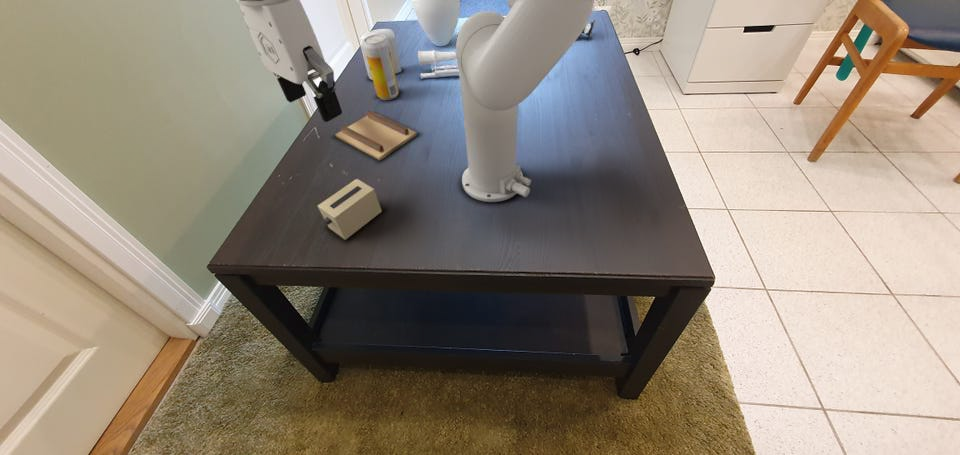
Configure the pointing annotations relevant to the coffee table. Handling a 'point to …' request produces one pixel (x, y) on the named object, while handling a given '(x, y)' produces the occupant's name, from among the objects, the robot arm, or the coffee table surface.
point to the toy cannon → (437, 57)
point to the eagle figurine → (588, 29)
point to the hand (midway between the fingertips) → (314, 107)
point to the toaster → (350, 208)
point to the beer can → (381, 66)
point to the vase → (438, 18)
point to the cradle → (376, 135)
